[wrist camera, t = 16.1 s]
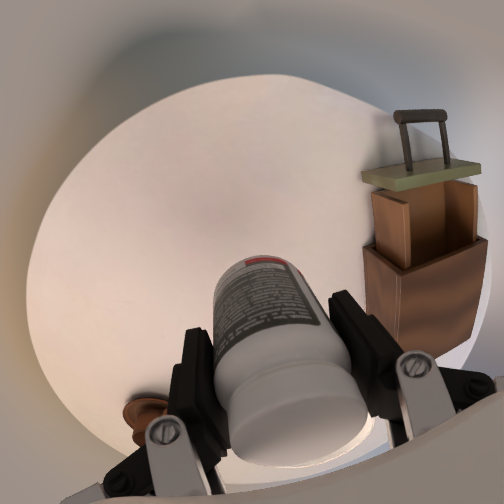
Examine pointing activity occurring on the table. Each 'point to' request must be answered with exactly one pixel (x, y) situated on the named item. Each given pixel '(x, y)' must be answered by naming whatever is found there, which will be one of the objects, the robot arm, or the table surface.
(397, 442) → the robot arm
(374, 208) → the drawer
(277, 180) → the table surface
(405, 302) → the cabinet
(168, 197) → the table surface
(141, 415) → the cup and saucer
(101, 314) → the table surface
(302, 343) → the pill bottle
